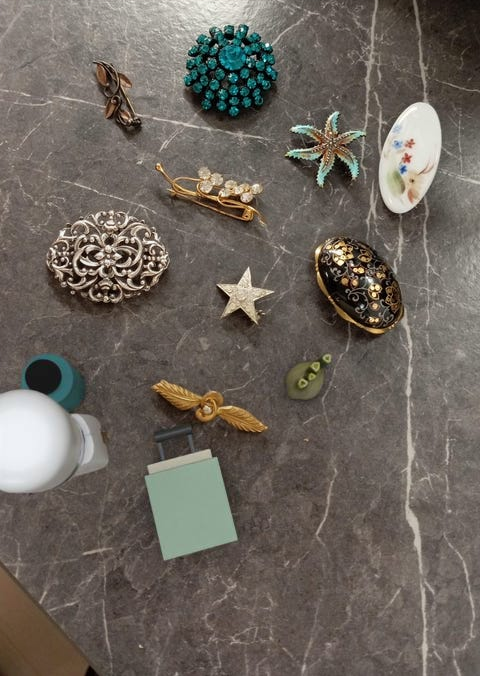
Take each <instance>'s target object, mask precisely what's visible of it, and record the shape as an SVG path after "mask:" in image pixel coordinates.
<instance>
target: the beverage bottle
mask: <svg viewBox="0 0 480 676" xmlns="http://www.w3.org/2000/svg"><path fill="white" fill-rule="evenodd" d="M20 384H21V389H27V390H33V391H37V392H40V393H43V394H45V395H47V396H48V397H50V398H52V399H53V400H54V401H56V402H57V403H58V404H59V405H60V406H61V407H63V408H64V409H65V410H66V411H67V412H69V413H70V412H73V411H74V410H75V409H77V408H78V407H79V406H80V405H81V404H82V402H83V401H84V400H85V397H86V394H87V385H88V384H87V383H86V380H85V376H84V375H83V374H82V372H80V370H78V368H77V367H76V366H74V365H73V364H72V363H71V362H69V361H68V360H67V359H65V357H62V356H61V355H58V354H56V353H42V354H38V355H37V356H35V357H33V358H31V359H30V361H28V363H26V364H25V366H24V368H23V370H22V373H21V380H20Z"/></svg>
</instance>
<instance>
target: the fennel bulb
mask: <svg viewBox="0 0 480 676" xmlns="http://www.w3.org/2000/svg"><path fill="white" fill-rule="evenodd" d="M332 358H333V357H332V354H331V353H325V354H323V355H322V356H321V357H319V358H318V359H314V360H311V361H304V362H301V363H298V364H295V365H294V366H293V367H292V368H291V369H290V370H288V372H287V373H286V375H285V377H284V384H285V386H286V388H285V391H286V395H287V396H288V397H289V398H290V399H292V400H303V401H305V400H310V399H313V398H316V396H318V394H320V391H321V390H322V388H323V384H324V380H325V369H326V366H327V365H329V364H330V363H331V362H332Z"/></svg>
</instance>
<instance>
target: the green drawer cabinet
mask: <svg viewBox="0 0 480 676" xmlns="http://www.w3.org/2000/svg"><path fill="white" fill-rule="evenodd" d="M219 462H220V461H219V459H218V456H214V457H212V458H210V459H206V460H203V461H199V462H195V463H191V464H188V465H184V466H180V467H176V468H173V469H169V470H165V471H161V472H158V473H154V474H150V475H149V474H146V475H144V481H145V485H146V490H147V493H148V499H149V502H150V503H149V504H150V506H151V507H150V508H151V511H152V515H153V519H154V524H155V529H156V534H157V538H158V541H159V546H160V551H161V555H162V559H163V561H165V562H166V561H168V560H172V559H176V558H179V557H183V556H186V555H189V554H193V553H197V552H201V551H205V550H208V549H211V548H215V547H219V546H222V545H226V544H229V543H233V542H237V541H238V540H239V538H238V534H237V530H236V526H235V522H234V518H233V514H232V510H231V506H230V502H229V498H228V494H227V490H226V486H225V482H224V478H223V475H222V469H221V466H220V463H219Z"/></svg>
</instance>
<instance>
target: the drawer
mask: <svg viewBox="0 0 480 676" xmlns="http://www.w3.org/2000/svg"><path fill="white" fill-rule="evenodd" d="M152 434H153V440H154V442H155V443H154V444H157V449H158V454H159V457H160V461H158V462H155V463H151V464H148V465H146V467H147V471H148V475H150V474H154V473H158V472H161V471H165V470H169V469H173V468H176V467H180V466H184V465H188V464H191V463H195V462H199V461H203V460H206V459H210V458H213V454H212V450H211V448H208V449H203V450H199V451H197V450H196V446H195V442H194V438H193V434H194V432H193V427H192V424H191V423H190V422H189V423H184V424H181V425H177V426H173V427H168V428H165V429H162V430H158V431H157V430H156V431H154V432H153V433H152ZM185 436H186V437H187V441H188V444H189V449H190V453H188V454H184V455H181V456H178V457H177V456H176V457H172V458H169V459H166V454H165V451H164V446H163V442H166V441H169V440H174V439H177V438H180V437H181V438H182V437H185Z"/></svg>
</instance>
